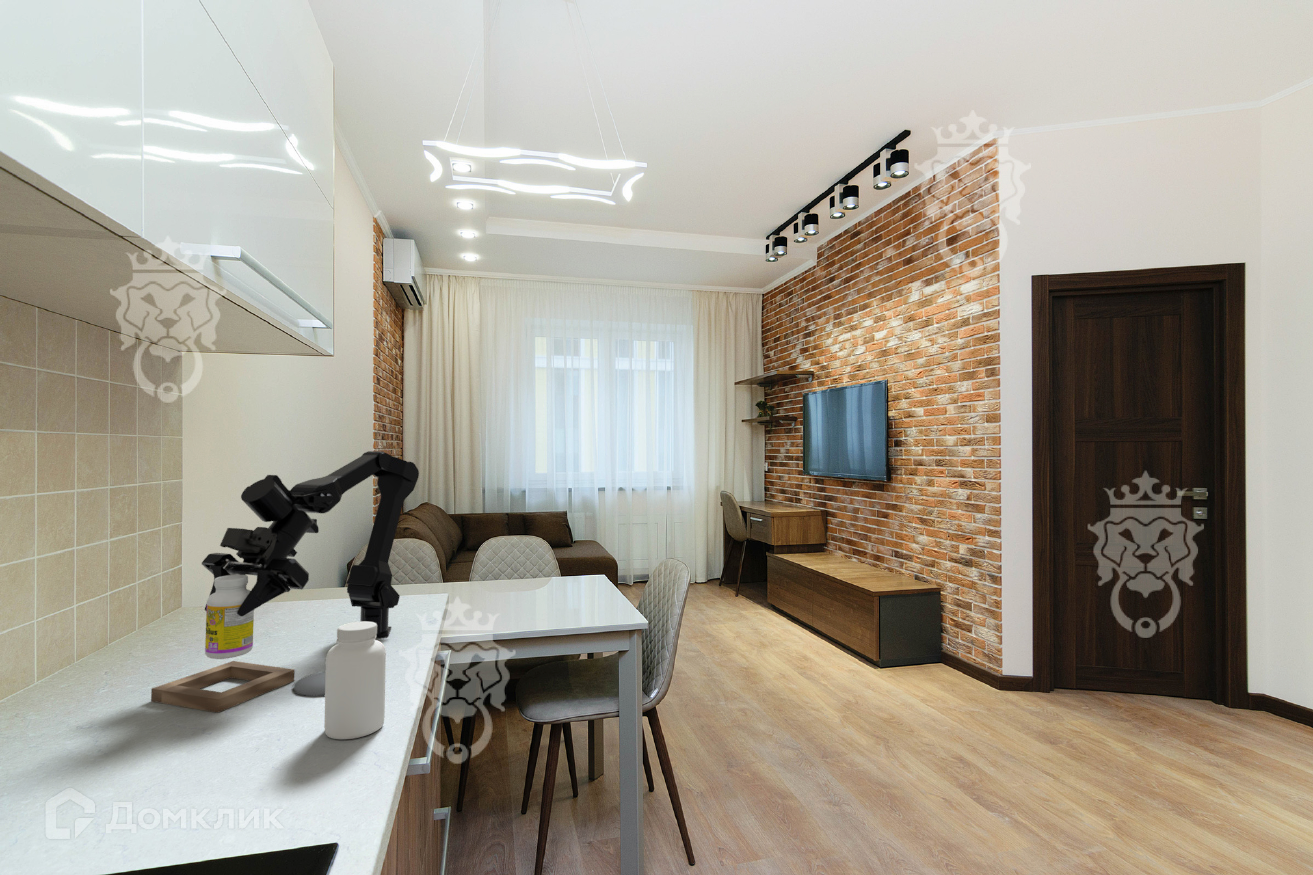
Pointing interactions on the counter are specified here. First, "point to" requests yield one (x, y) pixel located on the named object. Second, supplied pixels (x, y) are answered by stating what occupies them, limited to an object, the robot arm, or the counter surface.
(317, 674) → the coaster
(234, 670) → the pocket block
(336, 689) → the pill bottle
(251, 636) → the supplement bottle
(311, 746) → the counter surface
